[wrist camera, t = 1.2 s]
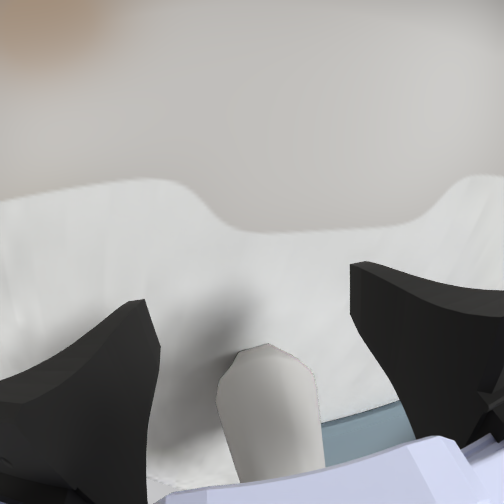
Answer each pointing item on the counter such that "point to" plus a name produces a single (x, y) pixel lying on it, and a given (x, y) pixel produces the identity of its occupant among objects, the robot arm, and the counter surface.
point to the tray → (365, 433)
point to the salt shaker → (270, 415)
